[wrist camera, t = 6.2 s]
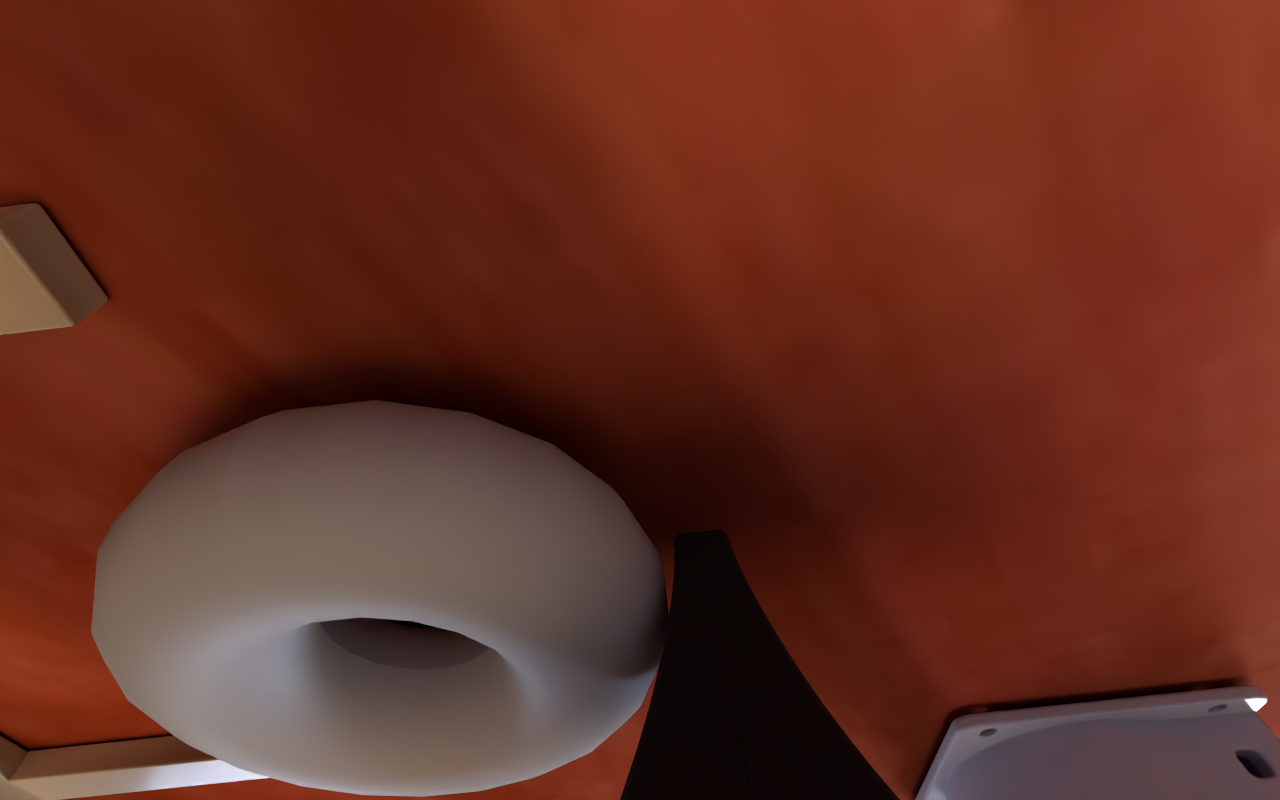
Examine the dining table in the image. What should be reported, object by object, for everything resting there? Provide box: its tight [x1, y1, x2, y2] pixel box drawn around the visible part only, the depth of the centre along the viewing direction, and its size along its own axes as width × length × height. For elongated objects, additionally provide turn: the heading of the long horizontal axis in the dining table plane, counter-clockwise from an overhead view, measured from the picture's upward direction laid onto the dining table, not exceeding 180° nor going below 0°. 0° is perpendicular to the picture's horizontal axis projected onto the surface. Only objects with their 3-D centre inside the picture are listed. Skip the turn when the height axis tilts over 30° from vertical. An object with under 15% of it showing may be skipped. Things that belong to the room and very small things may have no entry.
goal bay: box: [0, 203, 270, 800], centre depth 13 cm, size 12×16×1 cm
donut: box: [91, 400, 669, 797], centre depth 11 cm, size 10×4×10 cm
